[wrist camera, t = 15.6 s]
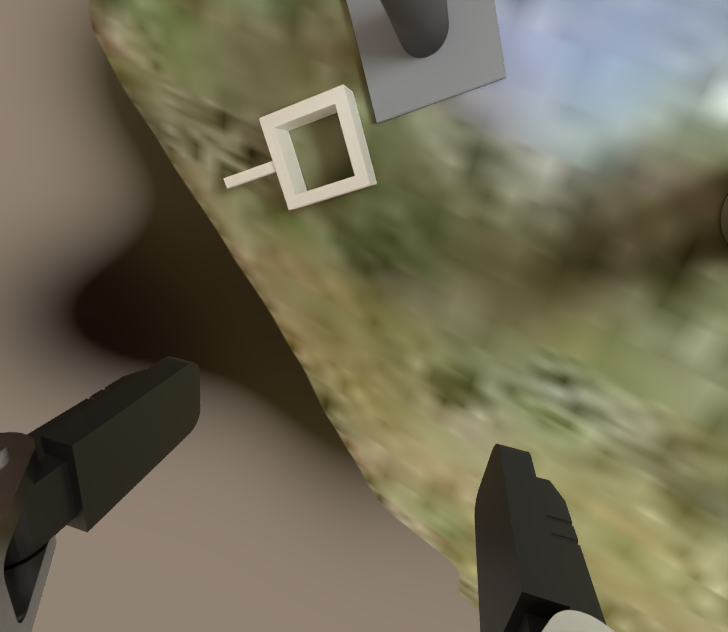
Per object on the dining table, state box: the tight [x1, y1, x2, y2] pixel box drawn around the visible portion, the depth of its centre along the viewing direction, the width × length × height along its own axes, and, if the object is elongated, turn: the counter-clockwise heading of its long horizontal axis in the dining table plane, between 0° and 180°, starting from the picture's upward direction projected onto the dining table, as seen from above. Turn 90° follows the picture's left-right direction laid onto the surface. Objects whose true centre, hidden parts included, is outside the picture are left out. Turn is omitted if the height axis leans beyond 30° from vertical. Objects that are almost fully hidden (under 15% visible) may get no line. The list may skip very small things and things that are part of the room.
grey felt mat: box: [346, 0, 506, 123], centre depth 34 cm, size 12×12×1 cm
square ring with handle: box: [224, 84, 377, 210], centre depth 39 cm, size 15×9×4 cm, turn 106°
